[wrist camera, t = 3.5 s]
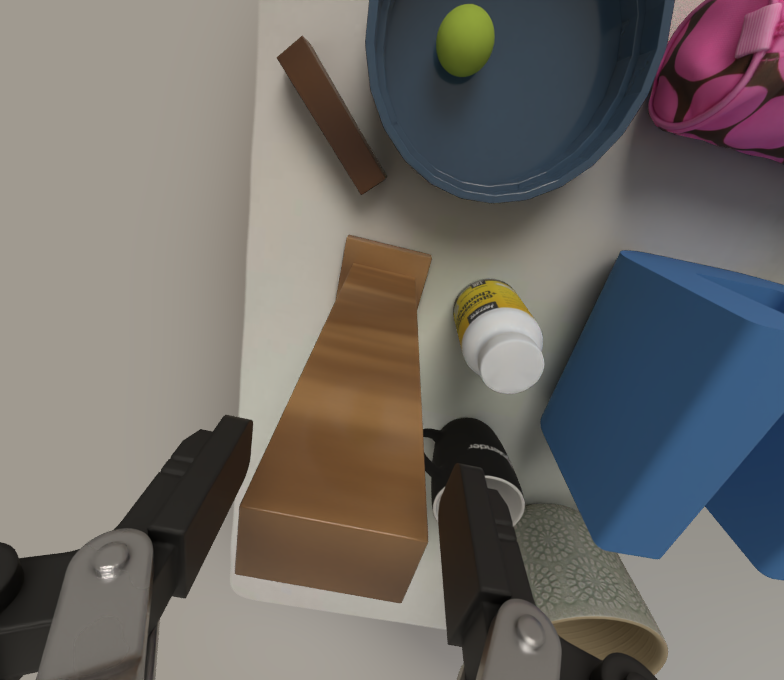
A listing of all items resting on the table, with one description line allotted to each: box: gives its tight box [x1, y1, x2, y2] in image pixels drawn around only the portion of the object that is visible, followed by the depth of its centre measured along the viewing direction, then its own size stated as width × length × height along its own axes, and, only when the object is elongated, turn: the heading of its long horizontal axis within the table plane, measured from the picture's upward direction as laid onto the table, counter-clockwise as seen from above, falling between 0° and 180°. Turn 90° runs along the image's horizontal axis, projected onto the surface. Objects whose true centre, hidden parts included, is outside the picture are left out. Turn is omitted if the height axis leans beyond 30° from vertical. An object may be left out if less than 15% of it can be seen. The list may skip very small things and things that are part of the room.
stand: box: [235, 235, 432, 603], centre depth 25 cm, size 8×8×28 cm
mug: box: [423, 418, 525, 526], centre depth 41 cm, size 12×9×10 cm
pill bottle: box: [453, 279, 544, 394], centre depth 33 cm, size 6×6×12 cm
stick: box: [277, 36, 387, 195], centre depth 30 cm, size 11×2×2 cm, turn 32°
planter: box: [513, 504, 668, 675], centre depth 46 cm, size 17×17×15 cm
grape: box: [436, 4, 495, 77], centre depth 26 cm, size 4×4×4 cm
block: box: [540, 250, 784, 580], centre depth 31 cm, size 18×18×18 cm
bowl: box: [365, 0, 675, 204], centre depth 27 cm, size 19×19×5 cm
